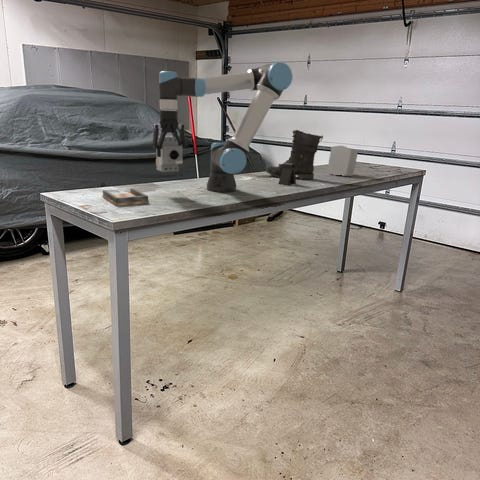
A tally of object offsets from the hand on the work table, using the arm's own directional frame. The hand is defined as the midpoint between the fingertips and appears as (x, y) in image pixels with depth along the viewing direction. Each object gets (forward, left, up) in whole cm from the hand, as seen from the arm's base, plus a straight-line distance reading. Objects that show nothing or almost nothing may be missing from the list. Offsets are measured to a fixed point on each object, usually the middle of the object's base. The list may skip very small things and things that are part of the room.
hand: (169, 163), depth 183 cm
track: (+21, +2, -14) cm, 26 cm away
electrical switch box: (-138, -23, -15) cm, 140 cm away
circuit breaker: (0, 0, -3) cm, 3 cm away
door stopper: (-76, -7, -15) cm, 77 cm away
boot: (-94, -25, -15) cm, 98 cm away
